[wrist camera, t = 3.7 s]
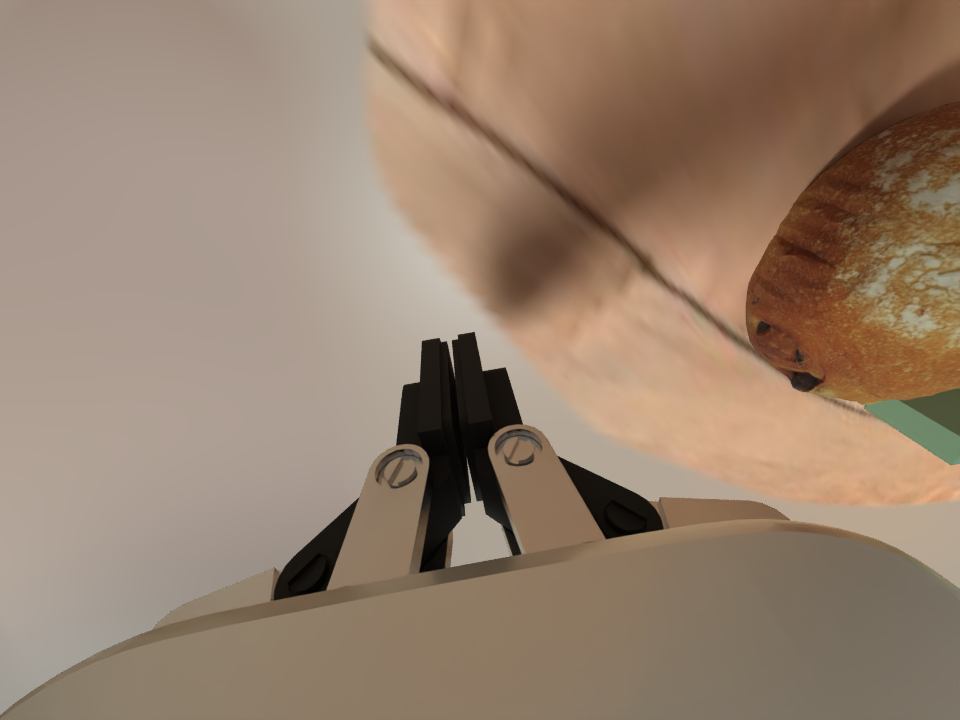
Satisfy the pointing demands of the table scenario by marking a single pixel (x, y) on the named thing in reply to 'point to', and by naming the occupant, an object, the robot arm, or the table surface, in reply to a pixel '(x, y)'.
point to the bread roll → (869, 270)
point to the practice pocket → (926, 421)
